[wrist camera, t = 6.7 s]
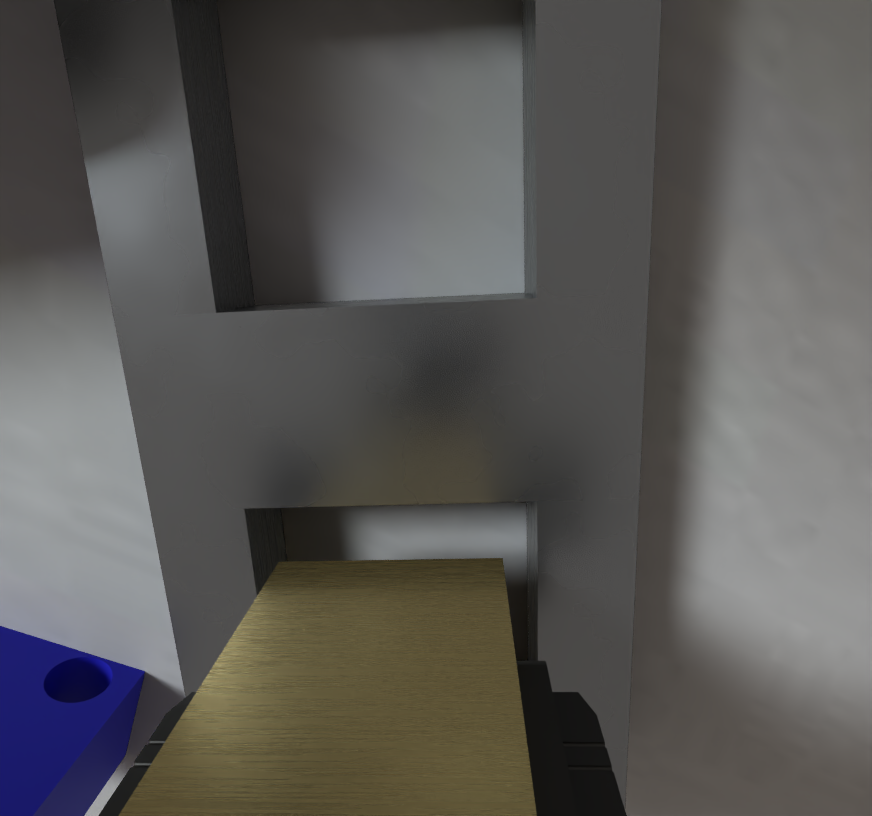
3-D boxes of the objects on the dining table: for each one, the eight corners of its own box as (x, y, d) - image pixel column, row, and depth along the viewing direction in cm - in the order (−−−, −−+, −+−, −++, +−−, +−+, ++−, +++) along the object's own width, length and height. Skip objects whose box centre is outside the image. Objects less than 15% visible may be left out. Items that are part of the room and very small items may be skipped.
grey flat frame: (97, -117, 11) (15, -202, 9) (632, -166, 10) (673, -270, 8) (239, 745, 15) (208, 813, 14) (603, 745, 15) (624, 816, 13)
